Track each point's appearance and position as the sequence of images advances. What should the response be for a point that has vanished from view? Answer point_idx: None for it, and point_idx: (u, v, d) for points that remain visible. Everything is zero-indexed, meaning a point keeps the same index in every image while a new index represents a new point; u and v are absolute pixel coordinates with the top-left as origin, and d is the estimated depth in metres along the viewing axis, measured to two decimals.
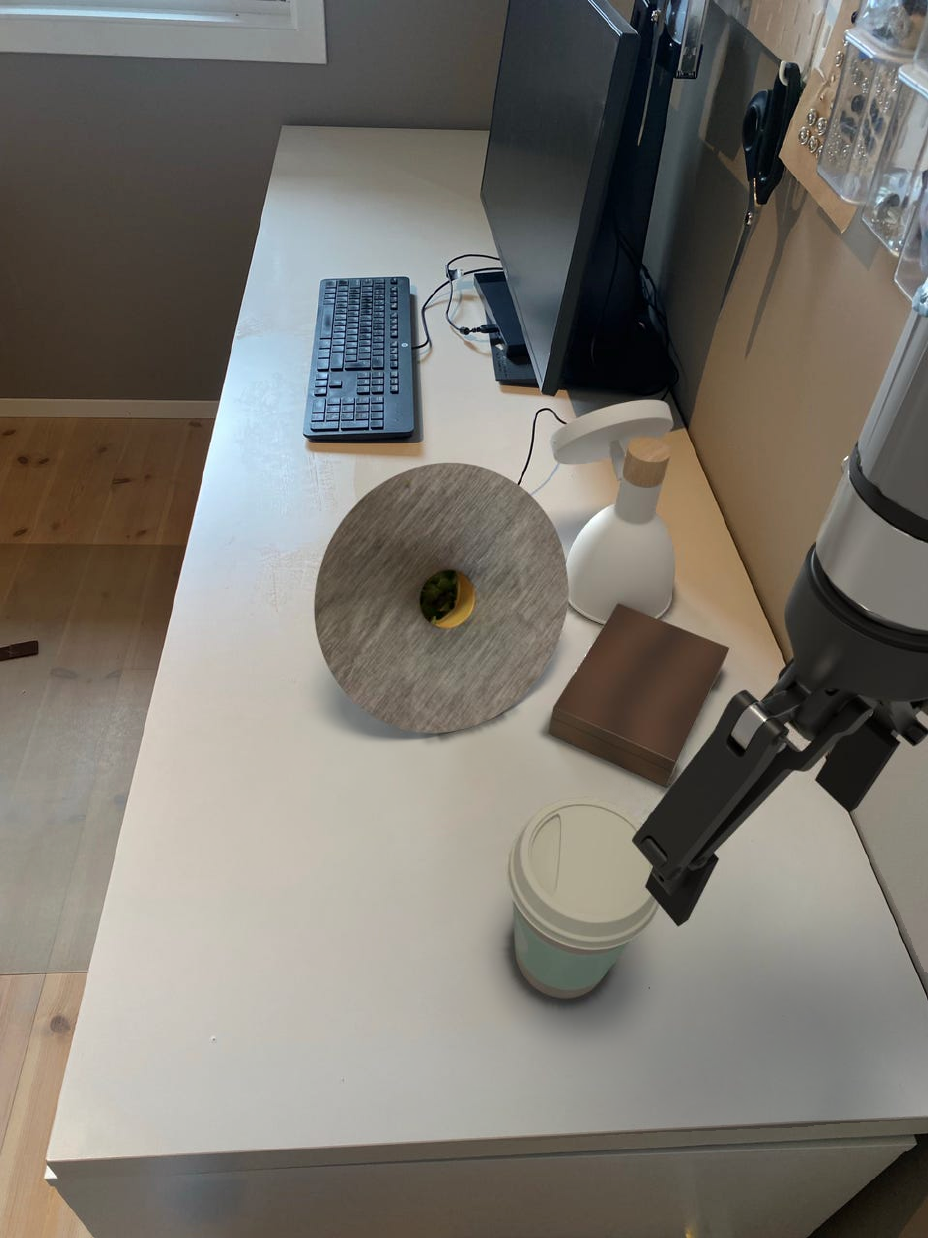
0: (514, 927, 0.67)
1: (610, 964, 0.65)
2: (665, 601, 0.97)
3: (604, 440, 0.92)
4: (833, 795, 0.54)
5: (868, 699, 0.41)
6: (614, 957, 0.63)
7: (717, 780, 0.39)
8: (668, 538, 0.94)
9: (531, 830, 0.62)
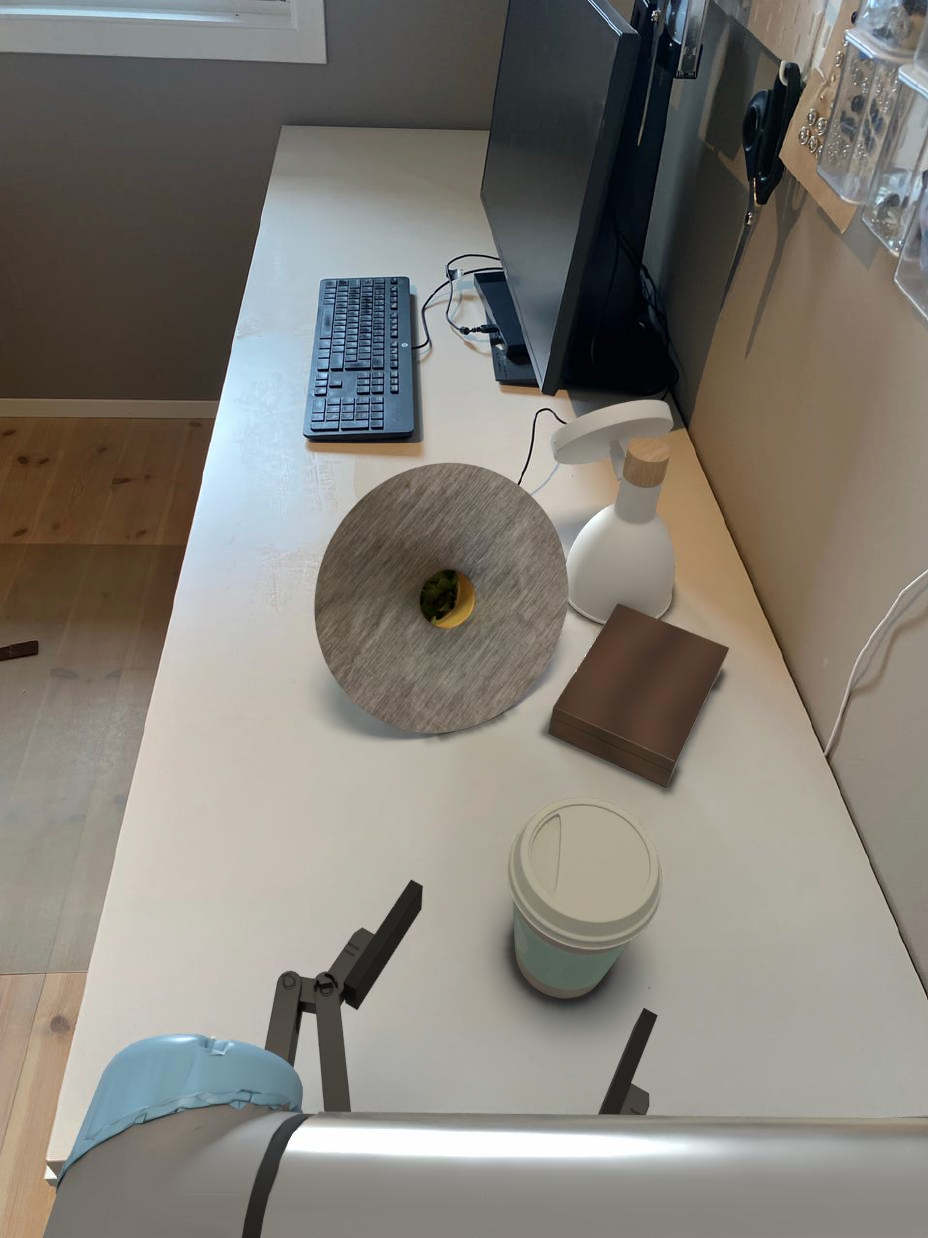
0: (514, 927, 0.67)
1: (610, 964, 0.65)
2: (665, 601, 0.97)
3: (604, 440, 0.92)
4: (420, 899, 0.50)
5: None
6: (614, 957, 0.63)
7: None
8: (668, 538, 0.94)
9: (531, 830, 0.62)
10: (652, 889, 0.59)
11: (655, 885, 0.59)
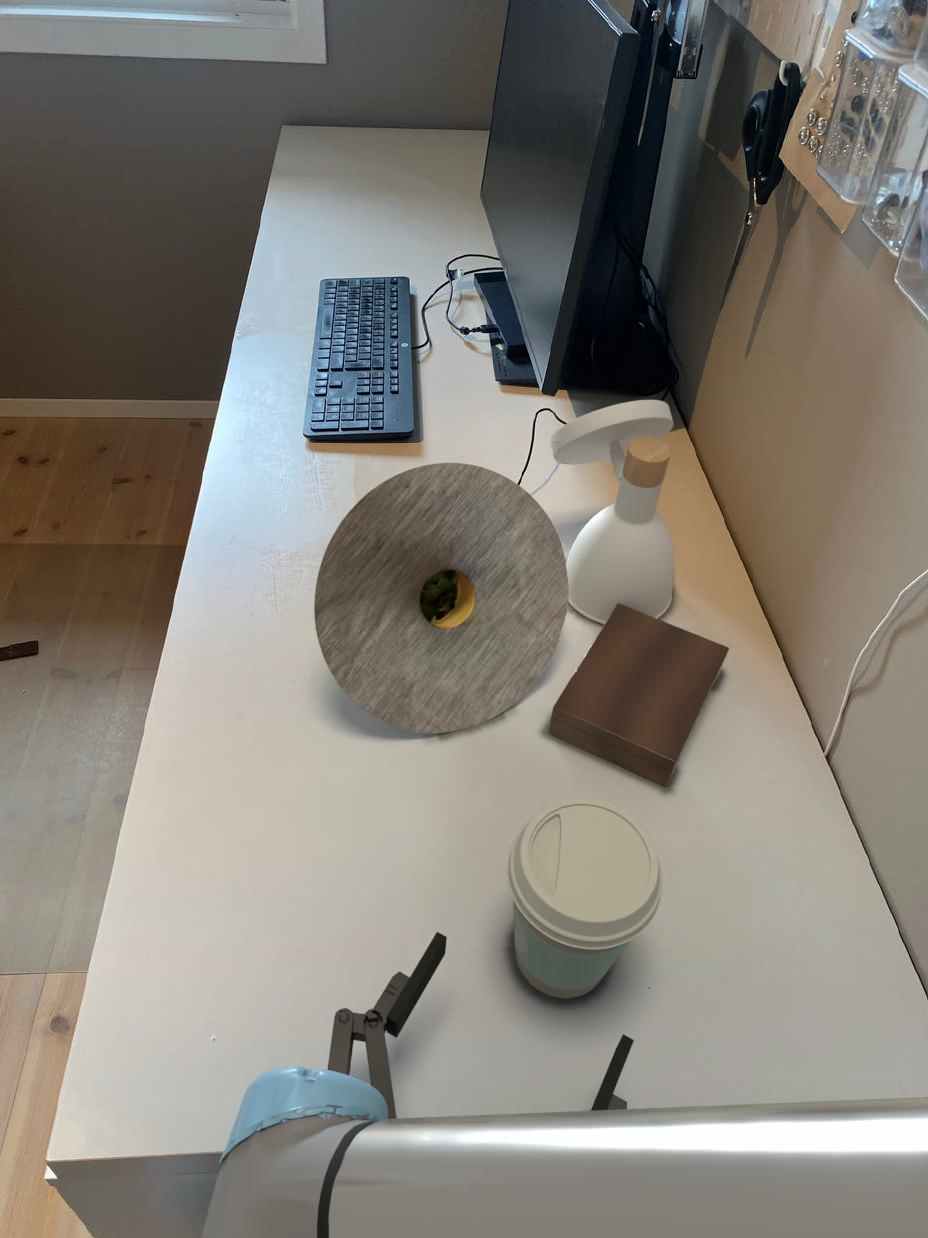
0: (514, 927, 0.67)
1: (610, 964, 0.65)
2: (665, 601, 0.97)
3: (604, 440, 0.92)
4: (444, 947, 0.62)
5: None
6: (614, 957, 0.63)
7: None
8: (668, 538, 0.94)
9: (531, 830, 0.62)
10: (652, 889, 0.59)
11: (655, 885, 0.59)
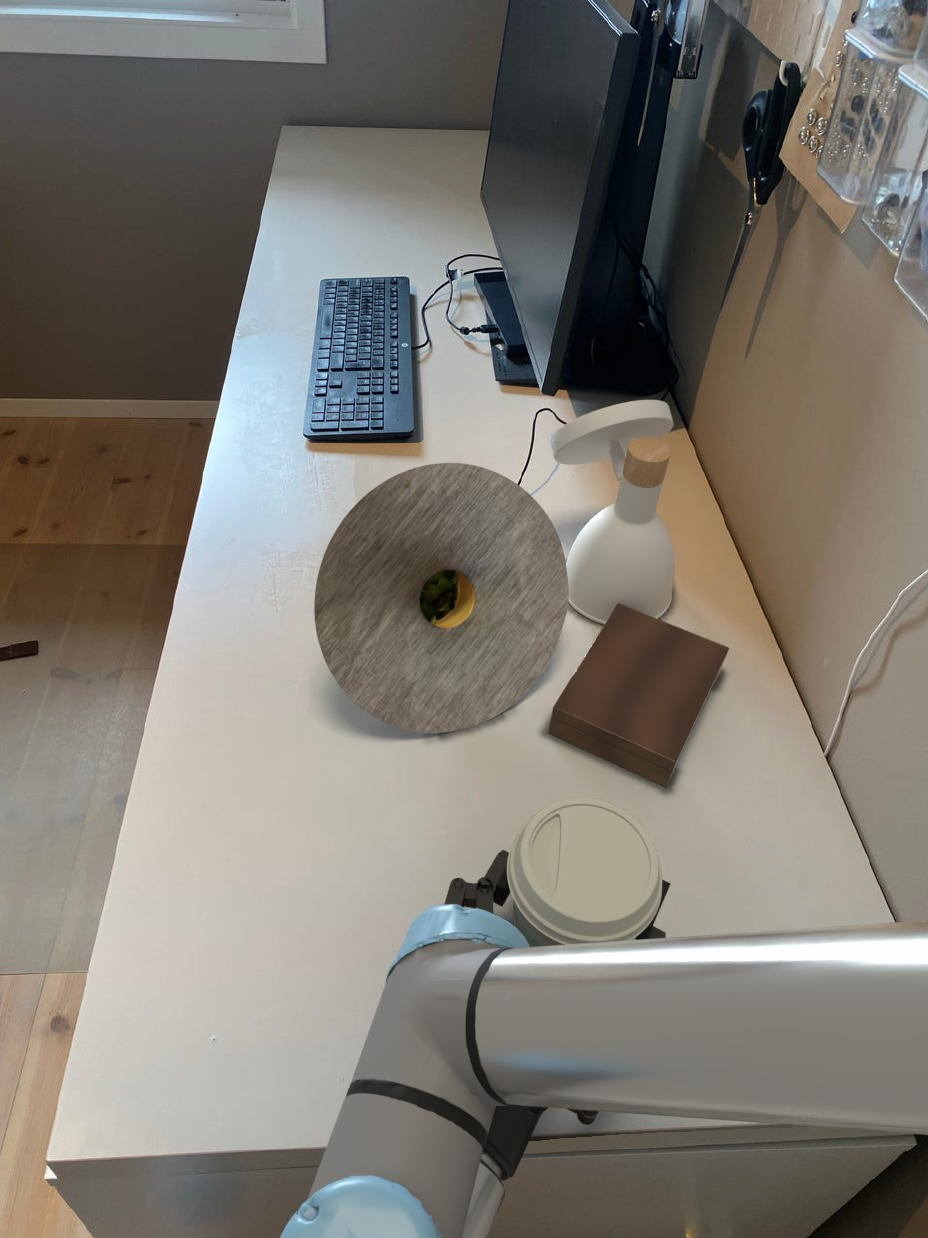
0: None
1: None
2: (665, 601, 0.97)
3: (604, 440, 0.92)
4: None
5: None
6: None
7: None
8: (668, 538, 0.94)
9: (531, 830, 0.62)
10: (652, 889, 0.59)
11: (655, 885, 0.59)
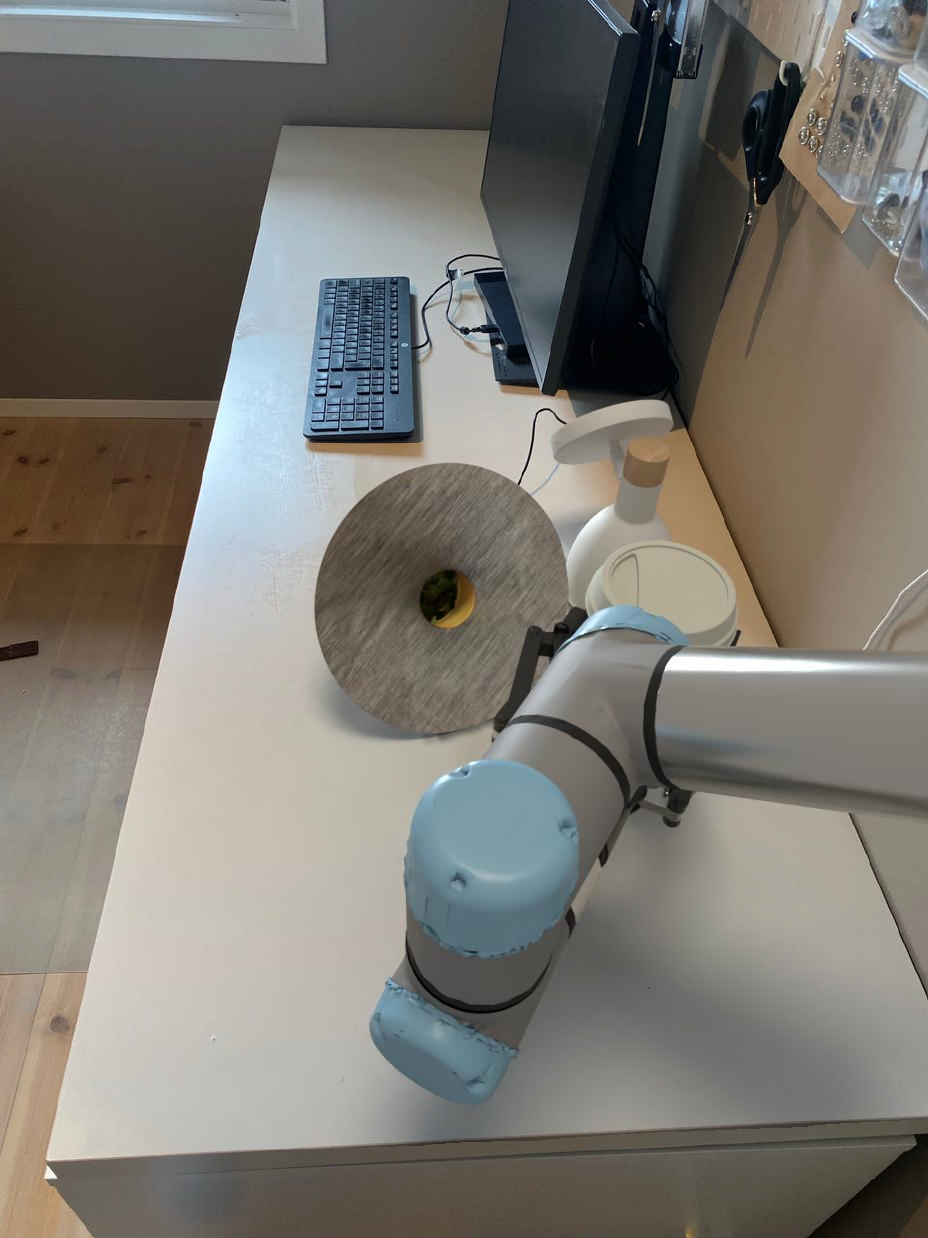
0: None
1: None
2: None
3: (604, 440, 0.92)
4: None
5: None
6: None
7: None
8: (668, 538, 0.94)
9: (609, 563, 0.63)
10: (731, 609, 0.61)
11: (734, 607, 0.61)
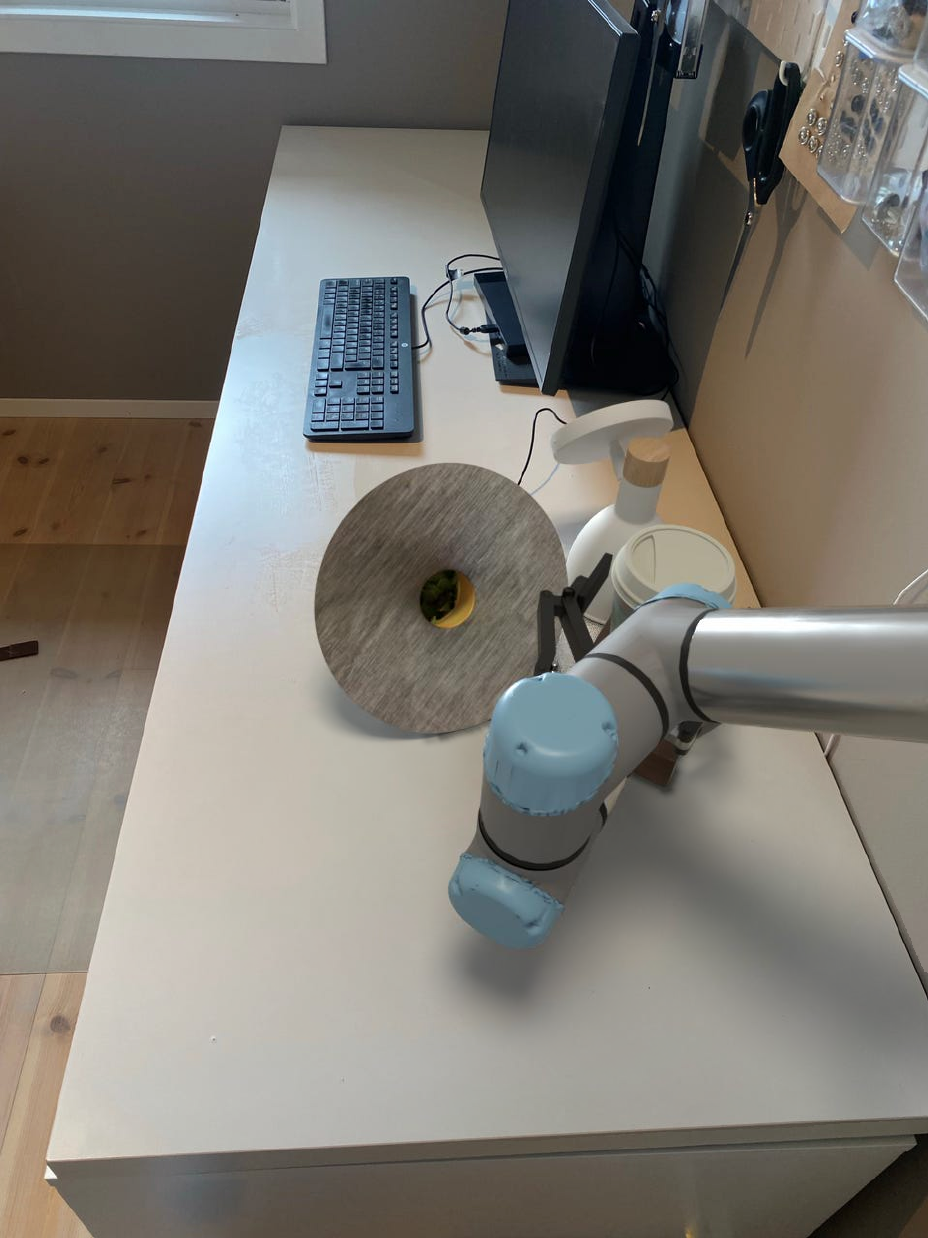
0: None
1: None
2: None
3: (604, 440, 0.92)
4: (610, 566, 0.84)
5: None
6: None
7: None
8: None
9: (631, 543, 0.77)
10: (731, 580, 0.74)
11: (733, 578, 0.75)
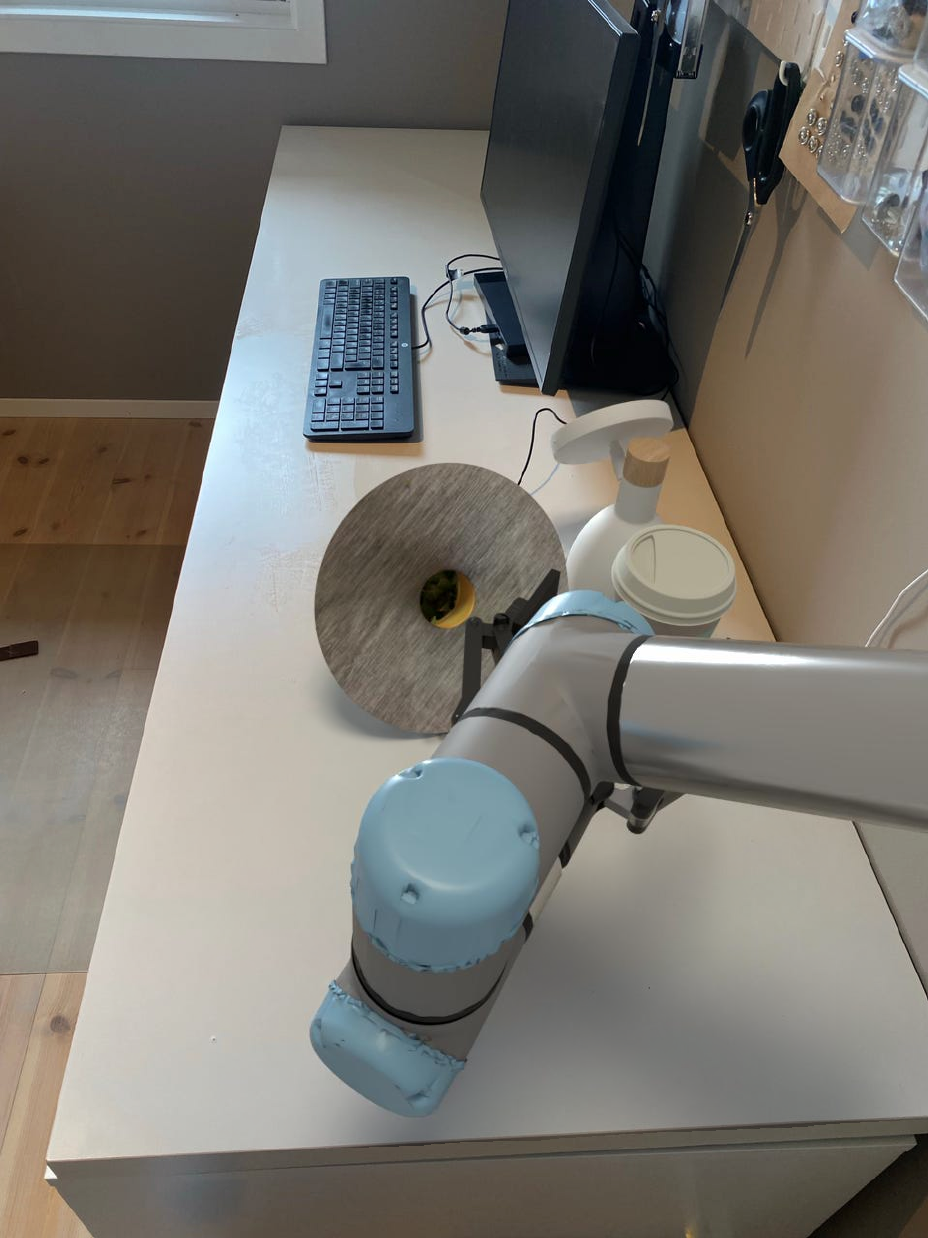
0: None
1: None
2: None
3: (604, 440, 0.92)
4: (557, 585, 0.68)
5: None
6: None
7: None
8: None
9: (631, 543, 0.77)
10: (731, 580, 0.74)
11: (733, 578, 0.75)
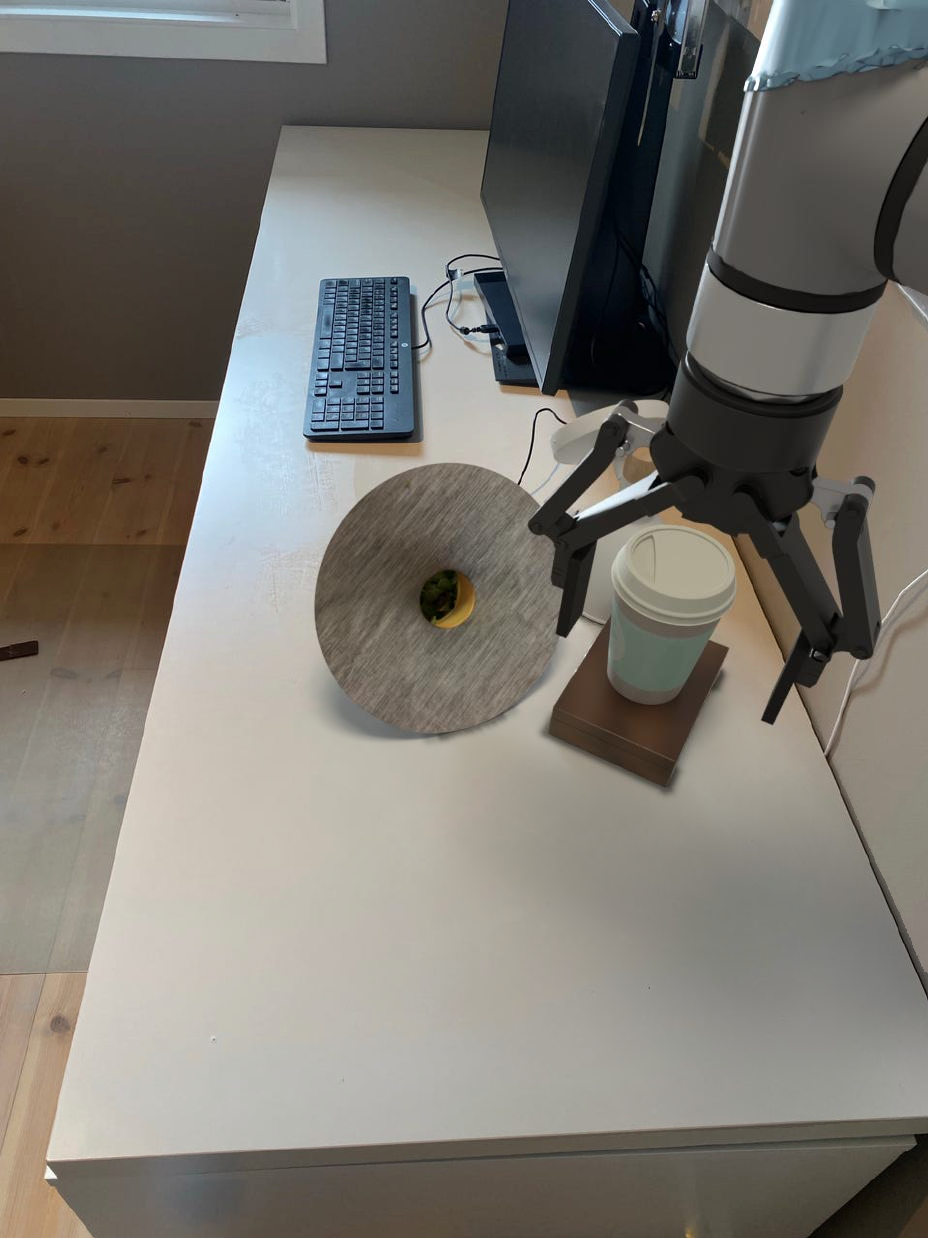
0: (611, 641, 0.82)
1: (691, 662, 0.80)
2: None
3: None
4: (767, 704, 0.55)
5: (728, 500, 0.46)
6: (696, 651, 0.78)
7: (583, 460, 0.50)
8: None
9: (631, 543, 0.77)
10: (731, 580, 0.74)
11: (733, 578, 0.75)
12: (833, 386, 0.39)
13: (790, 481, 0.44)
